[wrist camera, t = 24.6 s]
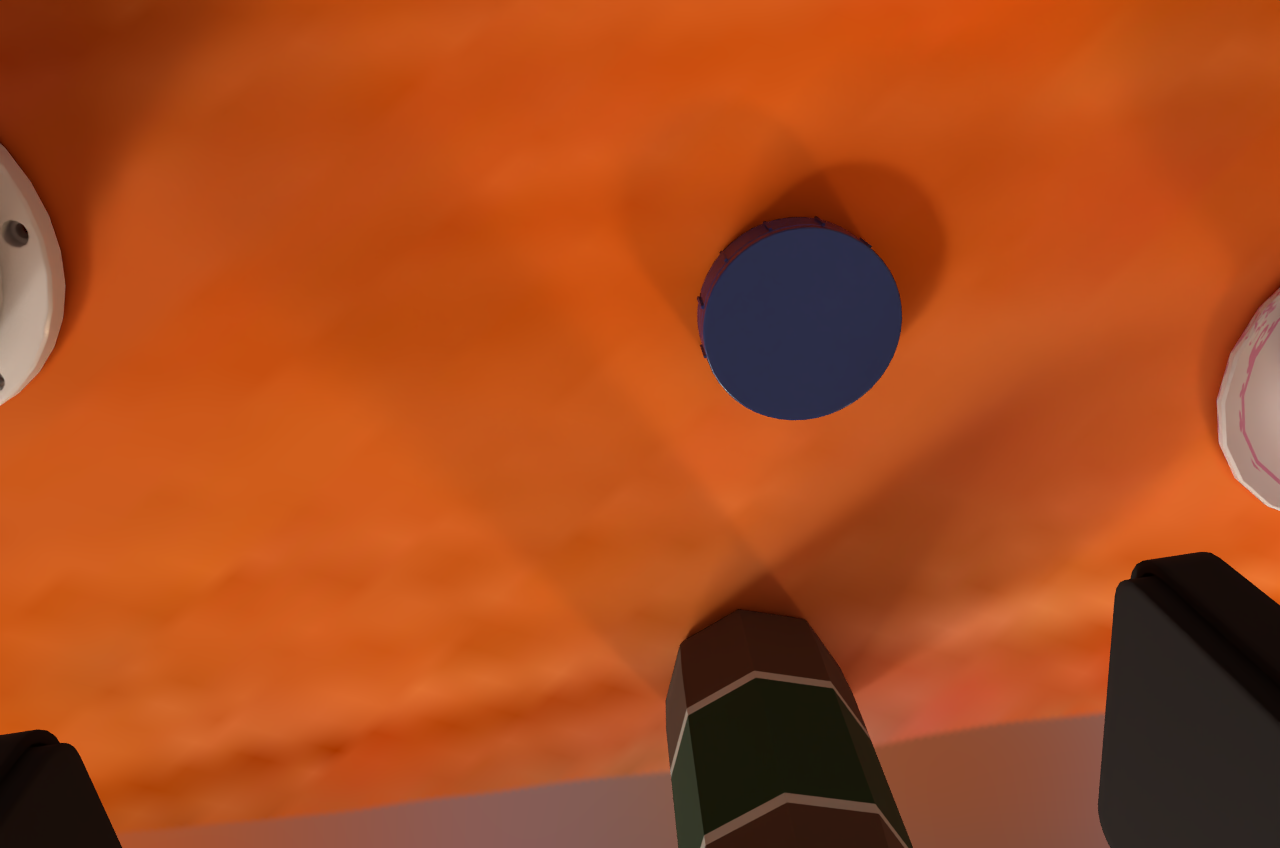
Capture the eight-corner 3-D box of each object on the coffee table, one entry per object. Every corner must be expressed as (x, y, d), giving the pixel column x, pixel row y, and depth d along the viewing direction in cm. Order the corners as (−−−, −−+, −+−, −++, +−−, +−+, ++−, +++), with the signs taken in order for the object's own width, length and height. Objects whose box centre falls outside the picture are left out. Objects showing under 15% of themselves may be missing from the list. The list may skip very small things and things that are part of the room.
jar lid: (919, 333, 35) (937, 349, 33) (761, 434, 36) (770, 455, 34) (825, 176, 33) (838, 185, 31) (659, 290, 34) (663, 305, 32)
